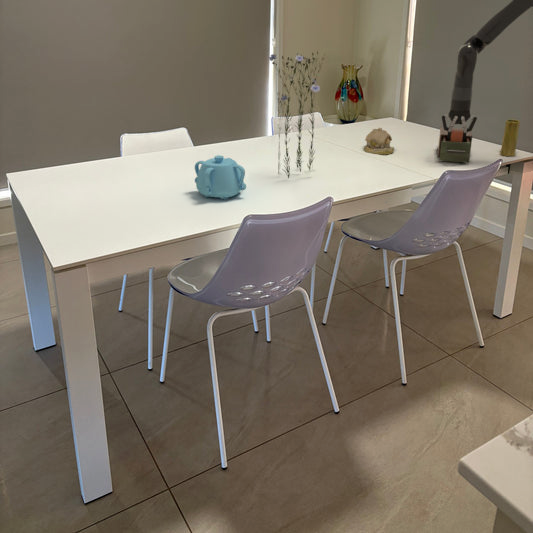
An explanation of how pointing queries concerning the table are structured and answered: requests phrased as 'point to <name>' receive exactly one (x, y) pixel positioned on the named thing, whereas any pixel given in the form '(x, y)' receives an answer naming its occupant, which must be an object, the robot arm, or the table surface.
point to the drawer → (455, 150)
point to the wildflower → (315, 89)
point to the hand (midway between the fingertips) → (456, 141)
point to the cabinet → (444, 134)
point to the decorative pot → (219, 177)
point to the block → (456, 135)
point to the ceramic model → (378, 142)
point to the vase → (510, 138)
